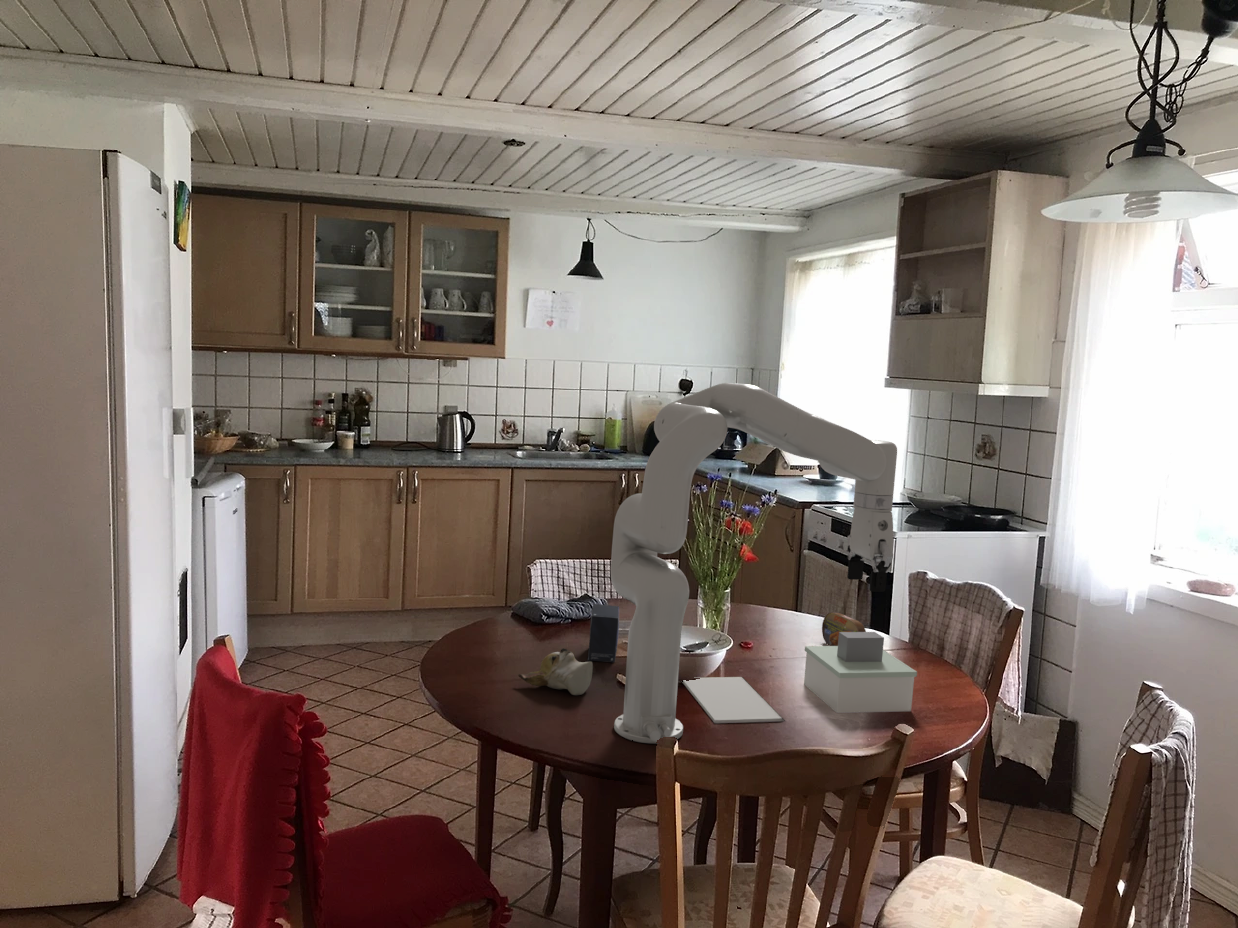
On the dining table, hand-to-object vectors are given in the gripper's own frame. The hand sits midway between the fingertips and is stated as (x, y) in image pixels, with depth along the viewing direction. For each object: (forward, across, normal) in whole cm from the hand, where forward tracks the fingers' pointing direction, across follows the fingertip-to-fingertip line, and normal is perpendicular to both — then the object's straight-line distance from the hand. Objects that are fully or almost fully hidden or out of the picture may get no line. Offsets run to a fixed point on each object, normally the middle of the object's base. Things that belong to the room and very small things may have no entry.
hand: (865, 585), depth 189 cm
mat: (+24, +2, +22) cm, 33 cm away
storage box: (+24, 0, 0) cm, 24 cm away
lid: (+18, 0, 0) cm, 18 cm away
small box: (+24, +31, +47) cm, 61 cm away
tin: (+25, +33, -13) cm, 43 cm away
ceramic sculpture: (+24, +10, +60) cm, 66 cm away
